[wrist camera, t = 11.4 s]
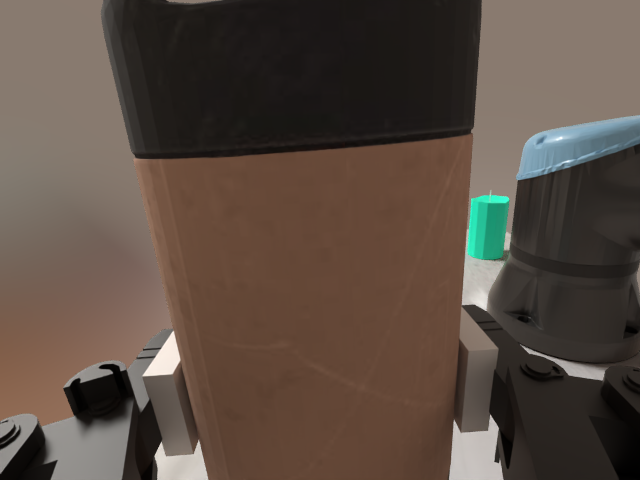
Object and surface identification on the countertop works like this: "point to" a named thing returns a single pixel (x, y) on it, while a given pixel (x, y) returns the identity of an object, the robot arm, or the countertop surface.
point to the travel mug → (307, 221)
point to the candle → (487, 227)
